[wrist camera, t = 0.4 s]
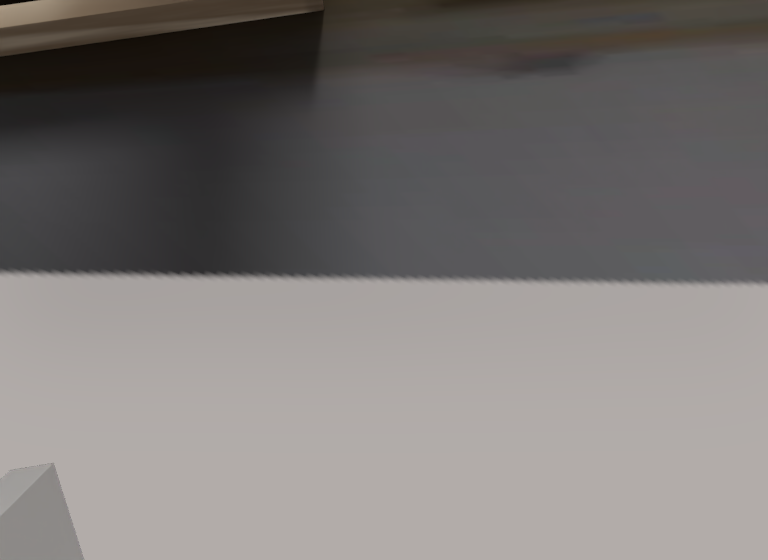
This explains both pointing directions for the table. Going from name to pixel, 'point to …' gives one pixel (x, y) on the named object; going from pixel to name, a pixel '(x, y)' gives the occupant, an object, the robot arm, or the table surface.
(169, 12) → the frame
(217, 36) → the table surface
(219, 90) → the table surface
